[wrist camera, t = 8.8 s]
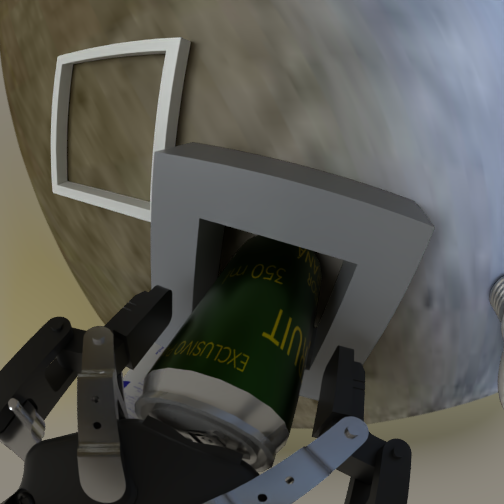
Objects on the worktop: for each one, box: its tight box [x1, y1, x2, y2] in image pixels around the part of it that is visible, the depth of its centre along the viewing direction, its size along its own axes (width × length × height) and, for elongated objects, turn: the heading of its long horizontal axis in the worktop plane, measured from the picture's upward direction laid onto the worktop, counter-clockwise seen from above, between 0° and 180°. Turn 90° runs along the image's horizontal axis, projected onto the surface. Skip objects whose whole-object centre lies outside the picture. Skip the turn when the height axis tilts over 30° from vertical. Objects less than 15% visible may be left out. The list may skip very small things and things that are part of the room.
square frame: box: [51, 38, 191, 222], centre depth 16 cm, size 12×12×1 cm
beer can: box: [135, 235, 322, 472], centre depth 13 cm, size 5×5×12 cm
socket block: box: [151, 142, 435, 401], centre depth 16 cm, size 13×13×4 cm
